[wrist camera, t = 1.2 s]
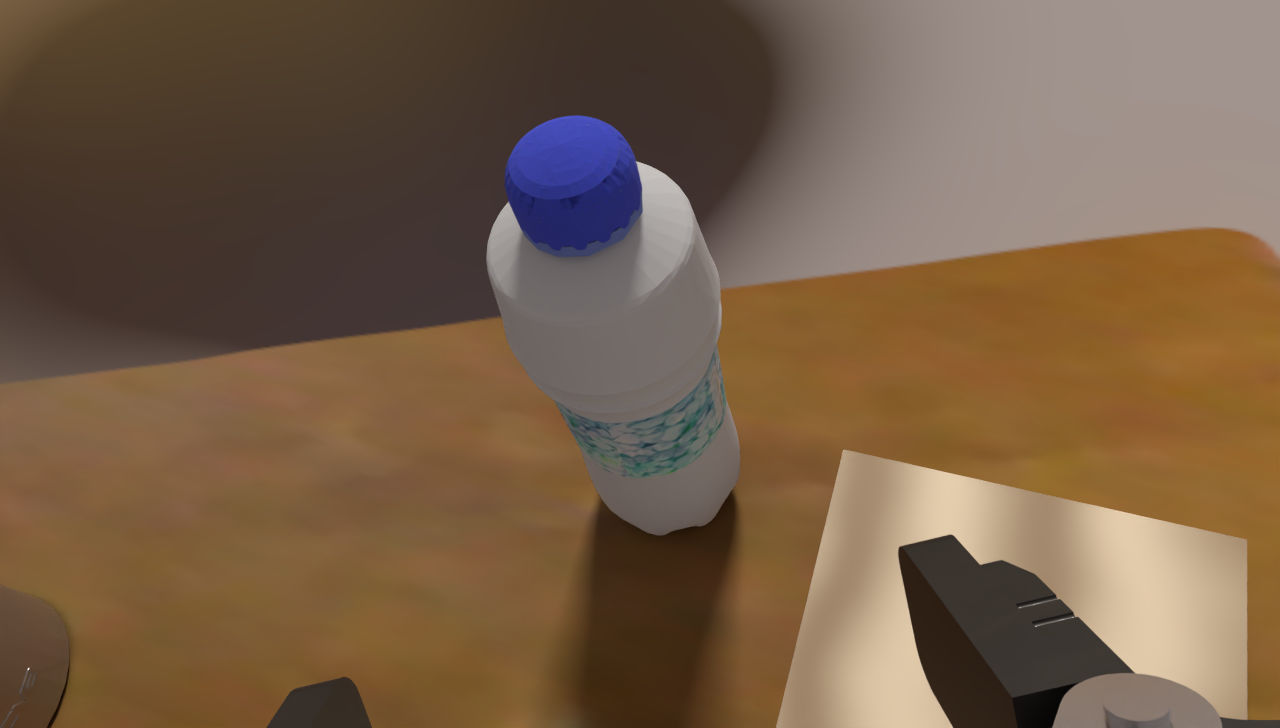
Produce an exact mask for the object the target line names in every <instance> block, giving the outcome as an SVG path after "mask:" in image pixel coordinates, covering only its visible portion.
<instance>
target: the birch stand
mask: <svg viewBox="0 0 1280 728" xmlns="http://www.w3.org/2000/svg"><path fill="white" fill-rule="evenodd" d="M951 534H952V535H953V536H955V537H956V538H957V540H958V541H959V542H960V543H961V544H962V545H963V546H964V547H965V549H966V550H967V551H968V552H969V553H970V554H971V555H972V556H973V557H974V559H975V560H976V561H977V562H978V563H979V564H980V565H982V564H986V563H990V562H994V561H999V560H1004V561H1006V562H1008V563H1011V564H1013V565H1015V566H1018V567H1020V568H1022V569H1025V570H1027V571H1029V572H1032V573H1034V574H1036V575H1037V576H1038V577H1039V578H1040V579H1041V580H1042V581H1043V582H1044V583H1045V584H1046V585H1047V586H1048V587H1049V588H1050V589H1051V590H1052V591H1053V592H1054V593H1055V594H1056V597H1057V599H1061V600H1062V601H1063V602H1064V603H1065V604H1066V605H1067V606H1068V607H1069V608H1070V609H1071V610H1072V611H1073V612H1074V615H1075V617H1079V618H1080V619H1081V620H1082V621H1083V622H1084V623H1085V624H1086V625H1087V626H1088V627H1089V628H1090V629H1091V630H1092V631H1093V632H1094V633H1095V634H1096V635H1097V636H1098V637H1099V638H1100V639H1101V640H1102V641H1103V642H1104V643H1105V644H1106V645H1107V646H1108V647H1109V648H1110V649H1111V650H1112V651H1113V652H1114V653H1115V654H1116V655H1117V656H1118V657H1119V658H1120V659H1122V660H1123V661H1124V662H1125V663H1126V664H1127V665H1128V666H1129V667H1130V668H1131V669H1132V670H1133V671H1134V672H1135V673H1136V674H1146V675H1151V676H1157V677H1161V678H1164V679H1168V680H1171V681H1174V682H1176V683H1179V684H1181V685H1184V686H1186V687H1188V688H1190V689H1191V690H1193V691H1195V692H1197V693H1198V694H1200V695H1201V696H1202V697H1204V698H1205V699H1206V700H1207V701H1208V702H1209V703H1210V704H1211V705H1212V706H1213V707H1214V708H1215V710H1216V711H1217V713H1218V714H1219V716H1220V717H1224V718H1232V719H1240V720H1247V540H1246V539H1241V538H1237V537H1232V536H1228V535H1223V534H1219V533H1214V532H1210V531H1206V530H1201V529H1197V528H1192V527H1188V526H1183V525H1179V524H1174V523H1170V522H1165V521H1161V520H1156V519H1152V518H1147V517H1143V516H1139V515H1134V514H1130V513H1125V512H1121V511H1116V510H1112V509H1107V508H1103V507H1098V506H1094V505H1089V504H1085V503H1080V502H1076V501H1072V500H1067V499H1063V498H1058V497H1054V496H1049V495H1045V494H1040V493H1036V492H1031V491H1027V490H1022V489H1018V488H1013V487H1009V486H1004V485H1000V484H996V483H991V482H987V481H982V480H978V479H973V478H969V477H964V476H960V475H955V474H951V473H946V472H942V471H937V470H933V469H929V468H924V467H920V466H915V465H911V464H906V463H902V462H897V461H893V460H888V459H884V458H879V457H875V456H870V455H866V454H862V453H857V452H853V451H848V450H844V449H843V454H842V458H841V462H840V466H839V470H838V474H837V478H836V482H835V487H834V491H833V495H832V499H831V503H830V507H829V511H828V515H827V520H826V524H825V528H824V532H823V536H822V540H821V544H820V548H819V553H818V557H817V561H816V565H815V569H814V573H813V577H812V582H811V586H810V590H809V594H808V598H807V602H806V606H805V610H804V615H803V619H802V623H801V627H800V631H799V635H798V639H797V643H796V648H795V652H794V656H793V660H792V664H791V668H790V672H789V676H788V681H787V685H786V689H785V693H784V697H783V701H782V705H781V709H780V714H779V718H778V722H777V726H776V728H953V727H952V725H951V723H950V721H949V720H948V718H947V716H946V715H945V713H944V711H943V709H942V708H941V706H940V704H939V702H938V701H937V699H936V697H935V696H934V694H933V692H932V690H931V688H930V686H929V684H928V681H927V679H926V676H925V674H924V671H923V668H922V665H921V662H920V659H919V655H918V652H917V648H916V643H915V638H914V633H913V629H912V624H911V619H910V614H909V609H908V604H907V599H906V594H905V589H904V584H903V579H902V575H901V570H900V564H899V558H898V549H899V547H900V546H904V545H908V544H912V543H916V542H920V541H925V540H929V539H933V538H937V537H941V536H946V535H951Z"/></svg>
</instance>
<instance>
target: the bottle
mask: <svg viewBox="0 0 1280 728" xmlns="http://www.w3.org/2000/svg"><path fill="white" fill-rule="evenodd" d="M505 188H506V192H507V196H508V200H509V202H508V203H507V204H506V206H505V207H504V208H503V209H502V211H501V212H500V214H499V216H498V218H497V220H496V222H495V223H494V225H493V227H492V231H491V234H490V237H489V241H488V247H487V260H486V261H487V268H488V275H489V278H490V281H491V284H492V287H493V291H494V294H495V296H496V300H497V303H498V306H499V309H500V313H501V316H502V319H503V323H504V328H505V334H506V337H507V340H508V343H509V345H510V348H511V350H512V352H513V353H514V355H515V356H516V358H517V360H518V361H519V362H520V363H521V364H522V365H523V366H524V368H525V370H526V372H527V374H528V375H529V377H530V378H531V380H532V381H533V382H534V383H535V384H536V385H537V387H538V388H539V389H541V390H542V391H543V392H544V393H545V394H547V395H548V396H549V397H550V398H552V399H553V400H554V401H555V403H556V405H557V407H558V408H559V410H560V412H561V414H562V416H563V418H564V420H565V421H566V423H567V425H568V427H569V429H570V431H571V433H572V435H573V436H574V438H575V440H576V442H577V444H578V446H579V447H580V449H581V452H582V455H583V458H584V461H585V464H586V466H587V469H588V472H589V475H590V477H591V480H592V482H593V484H594V486H595V488H596V490H597V492H598V493H599V495H600V497H601V499H602V500H603V502H604V503H605V504H606V505H607V507H608V508H609V509H610V510H611V511H612V512H613V513H615V514H616V515H617V516H619V517H620V518H622V519H623V520H625V521H627V522H629V523H630V524H632V525H634V526H636V527H638V528H640V529H641V530H643V531H645V532H647V533H650V534H654V535H658V536H659V535H665V534H667V533H669V532H671V531H675V530H679V529H683V528H687V527H692V526H698V527H700V526H703V525H706V524H707V523H709V522H710V521H711V520H712V519H713V518H714V517H715V516H716V514H717V513H718V511H719V509H720V507H721V506H722V504H723V503H724V501H725V500H726V498H727V497H728V495H729V493H730V492H731V490H732V489H733V488H734V487H735V485H736V483H737V481H738V478H739V471H740V448H739V441H738V435H737V431H736V428H735V424H734V421H733V418H732V415H731V412H730V409H729V406H728V403H727V400H726V395H725V389H724V383H723V377H722V372H721V366H720V360H719V354H718V349H717V341H718V337H719V333H720V330H721V315H722V308H721V302H720V280H719V276H718V272H717V269H716V266H715V264H714V261H713V260H712V258H711V256H710V254H709V251H708V249H707V246H706V244H705V241H704V239H703V236H702V233H701V231H700V228H699V226H698V223H697V221H696V218H695V215H694V213H693V210H692V208H691V205H690V203H689V200H688V199H687V197H686V196H685V194H684V193H683V191H682V190H681V189H680V187H679V186H677V184H675V183H674V182H673V181H672V180H671V179H670V178H669V177H668V176H666V175H665V174H664V173H662V172H660V171H658V170H656V169H655V168H653V167H651V166H648V165H645V164H642V163H639V162H636V160H635V157H634V154H633V152H632V150H631V148H630V145H629V144H628V143H627V141H626V140H625V139H624V137H623V136H622V135H621V134H620V132H619V131H617V130H616V129H614V128H613V127H612V126H611V125H608V124H606V123H604V122H603V121H600V120H598V119H594V118H591V117H586V116H566V117H561V118H556V119H553V120H550V121H548V122H545V123H543V124H541V125H539V126H537V127H535V128H534V129H533V130H531V131H530V132H528V133H527V134H526V135H525V136H524V137H523V138H522V139H521V140H520V141H519V142H518V144H517V145H516V146H515V148H514V150H513V151H512V154H511V156H510V157H509V159H508V162H507V167H506V169H505Z"/></svg>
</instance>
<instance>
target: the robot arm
mask: <svg viewBox="0 0 1280 728" xmlns="http://www.w3.org/2000/svg"><path fill="white" fill-rule="evenodd" d="M898 558H899V564H900V570H901V575H902V579H903V584H904V589H905V594H906V599H907V604H908V609H909V614H910V619H911V624H912V629H913V633H914V638H915V643H916V648H917V652H918V655H919V659H920V662H921V665H922V668H923V671H924V674H925V676H926V679H927V681H928V684H929V686H930V688H931V690H932V692H933V694H934V696H935V697H936V699H937V701H938V702H939V704H940V706H941V708H942V709H943V711H944V713H945V715H946V716H947V718H948V720H949V721H950V723H951V725H952V727H953V728H1280V720H1240V719H1232V718H1224V717H1220V716H1219V714H1218V713H1217V711H1216V710H1215V708H1214V707H1213V706H1212V705H1211V704H1210V703H1209V702H1208V701H1207V700H1206V699H1205V698H1204V697H1202V696H1201V695H1200V694H1198V693H1197V692H1195V691H1193V690H1191V689H1190V688H1188V687H1186V686H1184V685H1181V684H1179V683H1176V682H1174V681H1171V680H1168V679H1164V678H1161V677H1157V676H1151V675H1146V674H1136V673H1135V672H1134V671H1133V670H1132V669H1131V668H1130V667H1129V666H1128V665H1127V664H1126V663H1125V662H1124V661H1123V660H1122V659H1120V658H1119V657H1118V656H1117V655H1116V654H1115V653H1114V652H1113V651H1112V650H1111V649H1110V648H1109V647H1108V646H1107V645H1106V644H1105V643H1104V642H1103V641H1102V640H1101V639H1100V638H1099V637H1098V636H1097V635H1096V634H1095V633H1094V632H1093V631H1092V630H1091V629H1090V628H1089V627H1088V626H1087V625H1086V624H1085V623H1084V622H1083V621H1082V620H1081V619H1080V618H1079V617H1075V615H1074V612H1073V611H1072V610H1071V609H1070V608H1069V607H1068V606H1067V605H1066V604H1065V603H1064V602H1063V601H1062V600H1061V599H1057V597H1056V594H1055V593H1054V592H1053V591H1052V590H1051V589H1050V588H1049V587H1048V586H1047V585H1046V584H1045V583H1044V582H1043V581H1042V580H1041V579H1040V578H1039V577H1038V576H1037V575H1036V574H1034V573H1032V572H1029V571H1027V570H1025V569H1022V568H1020V567H1018V566H1015V565H1013V564H1011V563H1008V562H1006V561H1004V560H999V561H994V562H990V563H986V564H982V565H980V564H979V563H978V562H977V561H976V560H975V559H974V557H973V556H972V555H971V554H970V553H969V552H968V551H967V550H966V549H965V547H964V546H963V545H962V544H961V543H960V542H959V541H958V540H957V538H956V537H955V536H953V535H952V534H951V535H946V536H941V537H937V538H933V539H929V540H925V541H920V542H916V543H912V544H908V545H904V546H900V547H899V549H898ZM68 667H69V640H68V636H67V633H66V629H65V625H64V623H63V621H62V620H61V618H60V617H59V615H58V613H57V612H56V610H55V609H54V608H52V607H51V606H50V605H49V604H47V603H46V602H45V601H44V600H41V599H39V598H36V597H33V596H31V595H28V594H25V593H23V592H20V591H17V590H15V589H12V588H9V587H7V586H4V585H1V584H0V728H47V726H48V724H49V722H50V720H51V718H52V716H53V714H54V712H55V711H56V709H57V706H58V704H59V701H60V698H61V695H62V692H63V689H64V687H65V684H66V678H67V672H68ZM267 728H372V726H371V724H370V721H369V718H368V716H367V713H366V710H365V708H364V705H363V702H362V699H361V697H360V694H359V692H358V689H357V687H356V686H355V684H354V683H353V681H352V680H350V679H349V678H347V677H342V678H338V679H334V680H330V681H325V682H321V683H317V684H313V685H309V686H304V687H300V688H296V689H294V690H292V691H291V692H290V693H289V695H288V696H287V698H286V699H285V701H284V702H283V704H282V705H281V707H280V708H279V710H278V711H277V713H276V714H275V716H274V717H273V719H272V720H271V722H270V723H269V725H268V726H267Z"/></svg>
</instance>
